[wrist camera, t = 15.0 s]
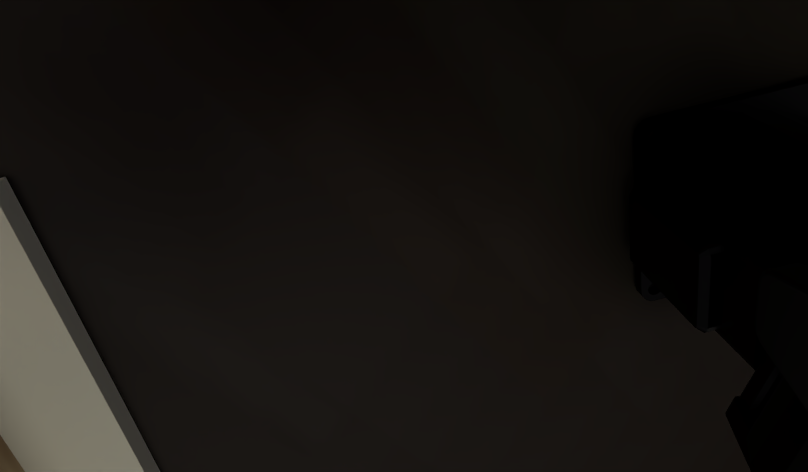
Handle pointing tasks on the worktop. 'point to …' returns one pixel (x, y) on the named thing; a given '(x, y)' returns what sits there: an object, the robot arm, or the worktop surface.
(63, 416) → the rest board
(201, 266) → the worktop surface
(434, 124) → the worktop surface
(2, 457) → the turner
